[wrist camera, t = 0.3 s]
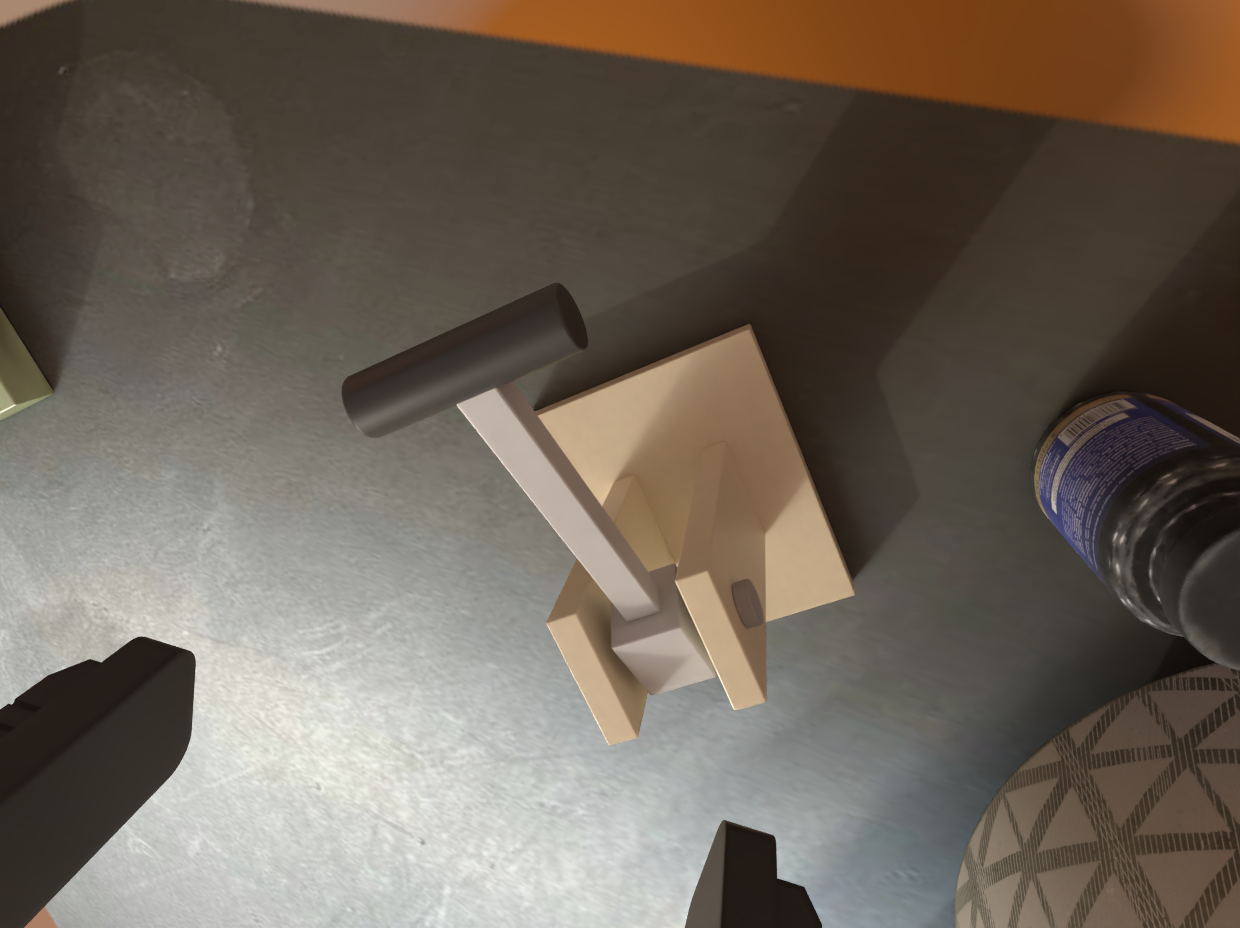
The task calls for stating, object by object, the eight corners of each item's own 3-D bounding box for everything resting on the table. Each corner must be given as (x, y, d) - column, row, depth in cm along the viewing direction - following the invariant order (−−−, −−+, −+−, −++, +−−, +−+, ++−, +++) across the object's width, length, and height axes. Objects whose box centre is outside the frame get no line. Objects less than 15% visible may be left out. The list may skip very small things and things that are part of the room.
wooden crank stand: (528, 413, 35) (410, 536, 24) (750, 323, 33) (742, 409, 21) (641, 647, 38) (586, 861, 26) (853, 582, 36) (899, 788, 24)
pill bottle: (1021, 536, 34) (1134, 696, 23) (1031, 390, 32) (1158, 494, 22) (1189, 533, 33) (1385, 699, 22) (1210, 381, 31) (1434, 487, 20)
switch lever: (352, 353, 20) (329, 416, 18) (556, 258, 18) (553, 317, 16) (601, 646, 28) (602, 710, 26) (757, 598, 26) (769, 662, 24)
